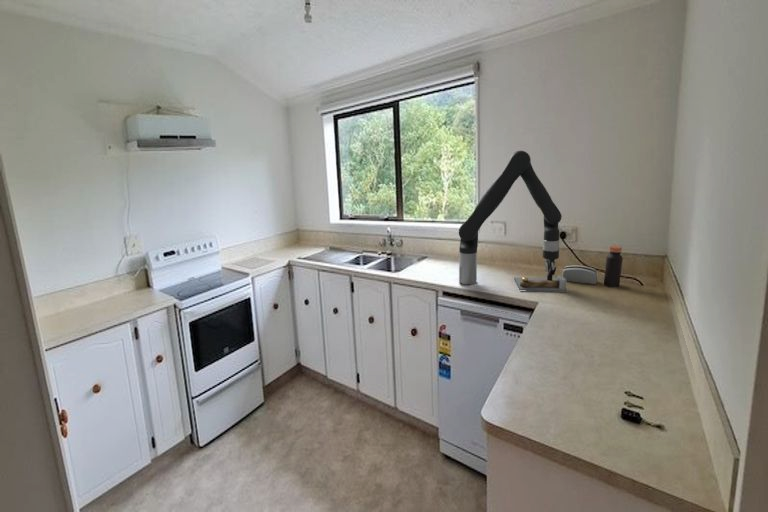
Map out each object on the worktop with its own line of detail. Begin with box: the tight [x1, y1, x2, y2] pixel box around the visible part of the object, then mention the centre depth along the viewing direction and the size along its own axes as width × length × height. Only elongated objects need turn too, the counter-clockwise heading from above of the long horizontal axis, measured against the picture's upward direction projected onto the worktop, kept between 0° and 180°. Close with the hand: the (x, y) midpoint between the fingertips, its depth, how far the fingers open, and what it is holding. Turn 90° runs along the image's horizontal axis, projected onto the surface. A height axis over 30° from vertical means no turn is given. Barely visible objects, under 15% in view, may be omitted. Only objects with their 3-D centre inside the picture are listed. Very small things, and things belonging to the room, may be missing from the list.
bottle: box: [603, 245, 624, 288], centre depth 183 cm, size 7×7×20 cm
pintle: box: [521, 276, 529, 282], centre depth 186 cm, size 3×3×1 cm
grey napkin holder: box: [561, 264, 598, 285], centre depth 193 cm, size 17×5×10 cm, turn 59°
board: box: [513, 276, 568, 293], centre depth 190 cm, size 22×18×1 cm
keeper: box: [555, 275, 567, 290], centre depth 183 cm, size 3×7×5 cm, turn 169°
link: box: [520, 280, 559, 287], centre depth 185 cm, size 21×4×2 cm, turn 81°
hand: (549, 281), depth 187 cm, fingers closed
